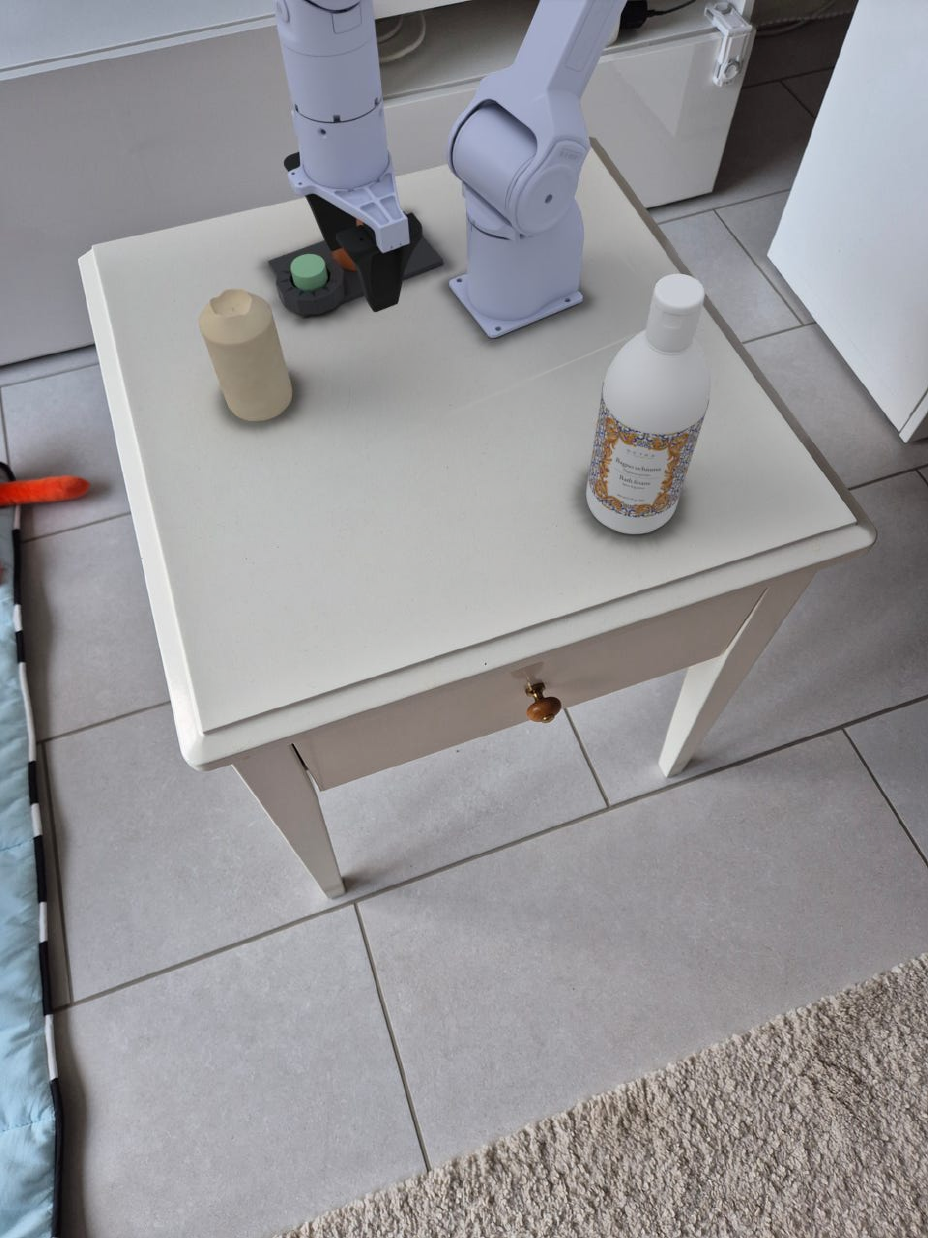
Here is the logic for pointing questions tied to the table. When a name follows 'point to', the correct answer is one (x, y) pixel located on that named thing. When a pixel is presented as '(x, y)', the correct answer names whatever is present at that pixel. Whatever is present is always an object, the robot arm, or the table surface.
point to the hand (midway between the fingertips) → (362, 274)
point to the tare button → (309, 272)
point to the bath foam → (651, 414)
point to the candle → (246, 354)
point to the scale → (337, 278)
